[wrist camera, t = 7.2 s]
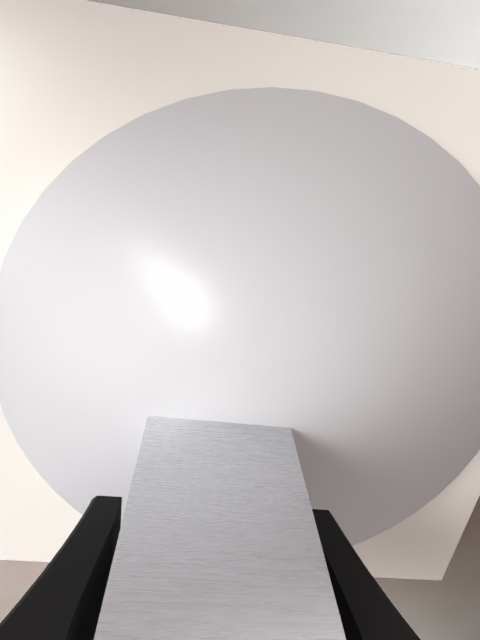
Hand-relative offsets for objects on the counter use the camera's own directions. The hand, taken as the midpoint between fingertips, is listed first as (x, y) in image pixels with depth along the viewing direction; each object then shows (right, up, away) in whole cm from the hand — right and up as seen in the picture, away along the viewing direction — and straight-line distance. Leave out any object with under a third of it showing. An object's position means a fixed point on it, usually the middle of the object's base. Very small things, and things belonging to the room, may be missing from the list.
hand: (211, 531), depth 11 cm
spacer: (0, +1, +2) cm, 2 cm away
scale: (+3, +5, +3) cm, 6 cm away
